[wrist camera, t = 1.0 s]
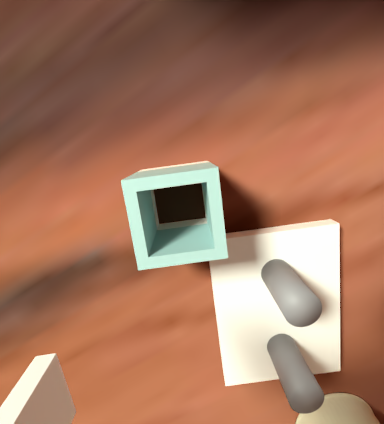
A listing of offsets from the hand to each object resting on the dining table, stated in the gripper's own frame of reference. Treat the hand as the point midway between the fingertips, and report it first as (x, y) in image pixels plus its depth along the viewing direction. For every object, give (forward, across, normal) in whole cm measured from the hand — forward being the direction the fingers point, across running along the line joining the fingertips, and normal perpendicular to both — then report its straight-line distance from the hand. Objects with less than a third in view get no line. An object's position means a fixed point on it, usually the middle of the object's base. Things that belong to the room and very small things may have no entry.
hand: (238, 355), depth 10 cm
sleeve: (+16, -2, +3) cm, 17 cm away
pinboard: (+16, +6, -9) cm, 20 cm away
